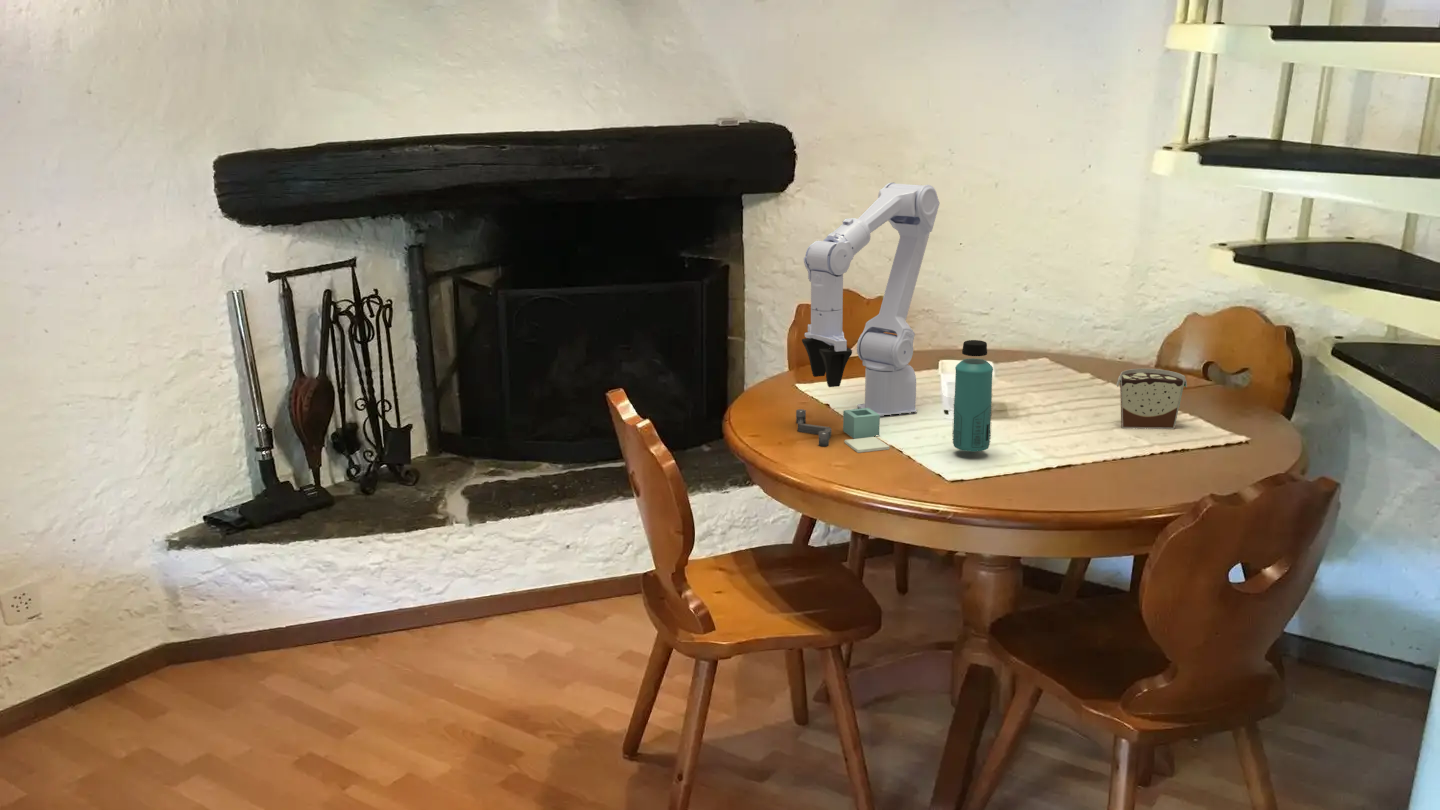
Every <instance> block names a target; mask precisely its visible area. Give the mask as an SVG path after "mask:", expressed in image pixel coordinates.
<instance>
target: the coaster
mask: <svg viewBox="0 0 1440 810" xmlns="http://www.w3.org/2000/svg"><path fill="white" fill-rule="evenodd" d="M843 441H844V444H846V445H847V446H848V447H849V448H851V449H852V450H854V451H855V452H857V453H858V454H861V453H869V452H876V451H884V450H890V445H888V444H887V443H885V442H884V441H882V440H880V438H879V437H877V436H875V437H866V438H857V439H853V438H851V439H850V438H849V439H845V440H844V439H843Z"/></svg>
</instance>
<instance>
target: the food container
mask: <svg viewBox="0 0 1440 810" xmlns="http://www.w3.org/2000/svg"><path fill="white" fill-rule="evenodd" d="M1187 382H1188V381H1187V378H1186V376H1185V375H1184V374H1181V373H1179V372H1175V371H1172V370H1171V371H1170V370H1165V369H1157V368H1131V369H1125V370H1123V371H1121V372H1120V375H1119V376H1118V378H1117V382H1116V387H1117V388H1118V387H1120V388H1119V391H1120V394H1119V395H1120V427H1121V429H1133V428H1135V429H1136V428H1137V429H1138V430H1139V429H1143V430H1144V429H1145V428H1146V430H1147V428H1148V430H1151V429H1152V430H1156V429H1157V430H1175V429H1176V422H1177V419H1178V414H1179V409H1180V405H1181V400H1182V395H1183V390H1184V388H1188V383H1187Z"/></svg>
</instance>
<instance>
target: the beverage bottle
mask: <svg viewBox="0 0 1440 810" xmlns="http://www.w3.org/2000/svg"><path fill="white" fill-rule="evenodd" d="M962 343H963V345H962V349H961V351H962V352H961V353H962V355H965V356H969V357H982V356H983V357H985V356H986V355H988V343H987V342H986V341H984V340H980V339H979V340H978V339H968V340H964V341H963V342H962ZM954 370H955V377H954V378H955V379H954V396H953V401H954V402H953V404H952V405H953V411H952V412H953V413H952V414H953V424H952V431H951V432H952V434H951V436H952V438H951V439H952V440H951V441H952V445H953V447H954V448H955V449H957V450H960V451H964V452H983V451H986V450H988V449H989V447H990V445H991V439H992V435H991V425H992V422H991V421H992V419H993V418H992V412H993V406H992V403H993V399H992V398H993V395H994V394H993V371H994V367H993V366H992V364H991V363H989V362H988V361H987V360H986V359H984V358H983V359H982V358H964V359H962V360H961V361H959V363H957V364H956V365H955V369H954Z"/></svg>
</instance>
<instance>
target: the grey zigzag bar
mask: <svg viewBox="0 0 1440 810" xmlns="http://www.w3.org/2000/svg"><path fill="white" fill-rule="evenodd" d="M806 413H807V410H806V409H803V408H802V409H801V408H799V409H796V410H795V423H796V424H797V432H799V433H802V434H803V433H805V434H811V435H818V446H819V447H822V448H823V447H824V448H825V447H828V446H829V443H830V440H831V437H832V428H831V427H830V426H826V425H825V426H823V425H816V424H809V423H807V422H806V417H807V416H806V415H807V414H806Z"/></svg>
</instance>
